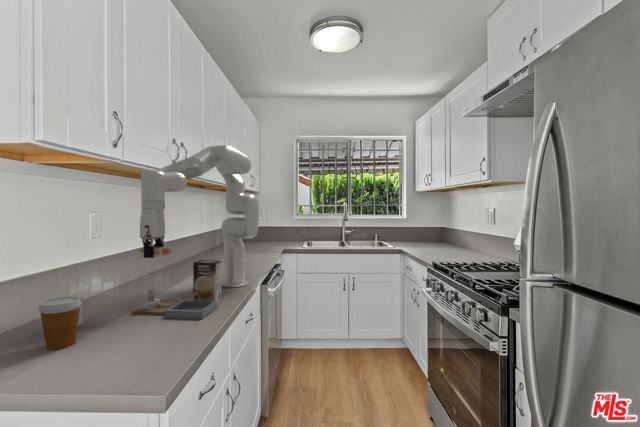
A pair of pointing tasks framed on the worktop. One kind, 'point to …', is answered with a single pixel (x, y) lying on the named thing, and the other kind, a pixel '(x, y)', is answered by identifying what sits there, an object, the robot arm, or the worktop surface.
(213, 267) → the brown food box
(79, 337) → the worktop surface
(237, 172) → the robot arm
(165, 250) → the birch ring
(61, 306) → the disposable coffee cup
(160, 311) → the stake board
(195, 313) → the grey square tray
